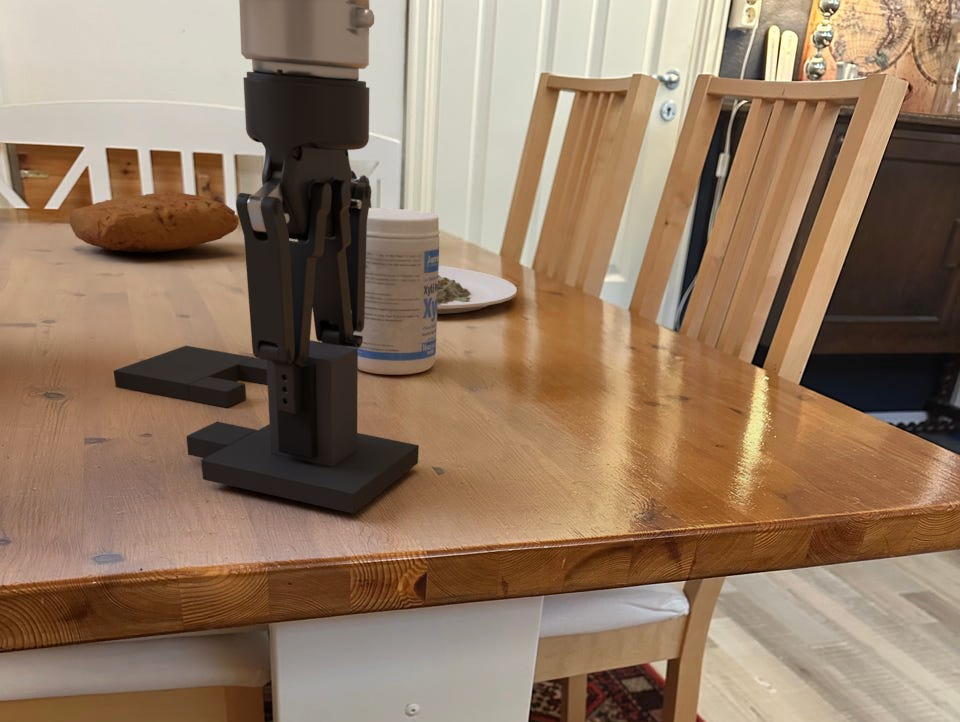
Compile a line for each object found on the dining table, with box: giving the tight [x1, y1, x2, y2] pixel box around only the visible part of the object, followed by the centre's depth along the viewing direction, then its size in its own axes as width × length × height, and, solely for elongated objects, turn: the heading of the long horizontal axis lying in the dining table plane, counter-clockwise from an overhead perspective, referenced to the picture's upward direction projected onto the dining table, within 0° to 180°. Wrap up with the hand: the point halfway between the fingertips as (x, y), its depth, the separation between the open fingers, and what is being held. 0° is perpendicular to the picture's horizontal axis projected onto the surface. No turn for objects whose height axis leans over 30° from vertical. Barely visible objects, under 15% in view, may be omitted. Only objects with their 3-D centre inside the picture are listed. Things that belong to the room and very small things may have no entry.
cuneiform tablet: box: [69, 192, 239, 254], centre depth 143 cm, size 22×17×8 cm
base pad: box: [113, 345, 268, 409], centre depth 88 cm, size 12×11×2 cm
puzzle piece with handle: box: [186, 339, 420, 514], centre depth 67 cm, size 16×11×9 cm
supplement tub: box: [347, 207, 440, 376], centre depth 94 cm, size 10×10×15 cm
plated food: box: [437, 265, 518, 315], centre depth 128 cm, size 30×30×3 cm
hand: (314, 443), depth 68 cm, fingers closed on puzzle piece with handle, 4 cm apart
